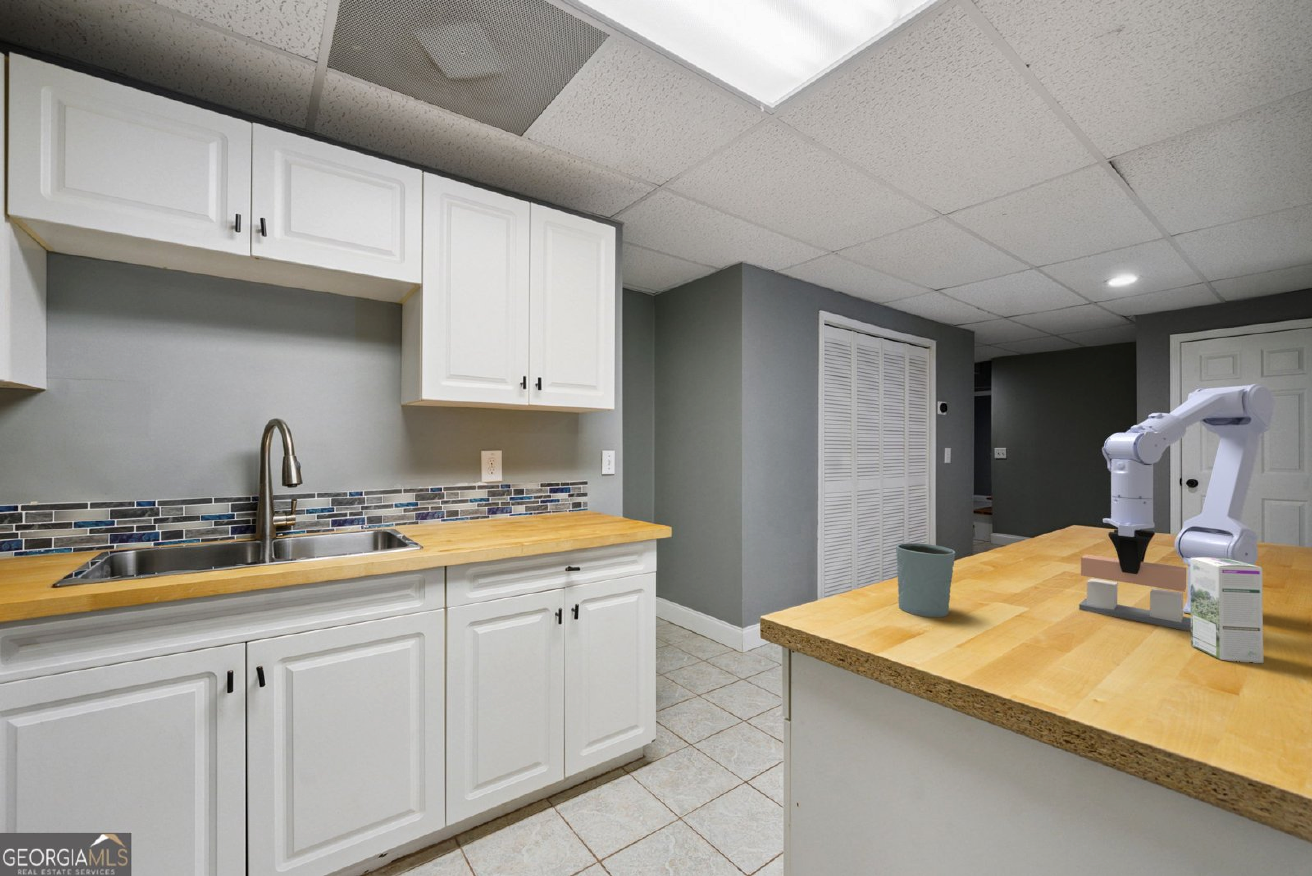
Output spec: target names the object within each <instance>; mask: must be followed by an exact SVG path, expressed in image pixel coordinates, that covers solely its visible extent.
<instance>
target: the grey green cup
mask: <svg viewBox="0 0 1312 876" xmlns="http://www.w3.org/2000/svg"><path fill="white" fill-rule="evenodd" d="M895 549H896V566H897V568H896V570H897V582H898V583H897V587H898V588H897V591H898V599H897V600H898V607H899V609H900V610H901V611H904V613H908V614H912V615H915V616H920V617H926V618H927V617H928V618H941V617H946V616H948V614H949V609H950V600H951V599H950V597H951V587H952V581H953V580H952V579H953V572H954V565H955V559H956V558H955V557H956V551H955V550H953V549H951V548H948V547H946V546H942V545H941V546H939V545H934V544H929V543H928V544H927V543H917V542H912V543H911V542H906V543H905V542H904V543H897V544H896V545H895Z"/></svg>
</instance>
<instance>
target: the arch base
mask: <svg viewBox="0 0 1312 876" xmlns="http://www.w3.org/2000/svg"><path fill="white" fill-rule="evenodd" d="M1118 582H1119V581H1113V580H1107V579H1100V578H1094V577H1090V579H1088V580H1087V582H1086V598H1085V599H1083V600H1082V601H1081V602H1080V604H1078V607H1079V608H1078V610H1080V611H1086V612H1089V611H1090V613H1095V614H1099V615H1100V614H1101V615H1106V616H1110V615H1112V616H1111V617H1115V618H1119V619H1126V620H1129V621H1130V620H1131V621H1135V620H1136V622H1140V621H1141V623H1145V622H1147V623H1146V624H1150V625H1156V626H1160V625H1162V626H1161V627H1165V626H1166V628H1171V629H1177V630H1181V631H1185V632H1189V631H1190V630H1191V617H1188V616H1184V612H1183V609H1184V592H1181V591H1175V590H1169V589H1163V588H1156V587H1152V588H1151V590H1150V591H1149V593H1150V594H1149V609H1145V608H1139V607H1133V606H1129V605H1123V604H1118V590H1119V589H1118Z"/></svg>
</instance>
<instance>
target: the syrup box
mask: <svg viewBox="0 0 1312 876" xmlns="http://www.w3.org/2000/svg"><path fill="white" fill-rule="evenodd" d="M1190 588H1191V589H1190V591H1191V613H1190V618H1191V626H1190V646H1191V647H1193V648H1195V649H1198V650H1199V651H1201V652H1204V653H1205V654H1208V655H1210V656H1212V657H1214V658H1215V659H1218V660H1220V661H1228V662H1229V661H1230V662H1236V661H1237V663H1249V662H1253V664H1263V663H1264V632H1263V631H1264V629H1263V628H1264V624H1263V622H1264V621H1263V618H1264V616H1263V615H1264V614H1263V613H1264V610H1263V603H1264V602H1263V599H1264V598H1263V596H1264V595H1263V590H1264V589H1263V567H1262V566H1258V565H1256V564H1255V565H1251V564H1247V563H1243V562H1239V561H1235V560H1231V559H1224V558H1213V557H1200V558H1191V559H1190ZM1239 661H1240V662H1239Z"/></svg>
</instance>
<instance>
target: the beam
mask: <svg viewBox="0 0 1312 876" xmlns="http://www.w3.org/2000/svg"><path fill="white" fill-rule="evenodd" d="M1080 576H1082V577H1090V578H1093V579H1099V580H1106V581H1112V582H1122V583H1127V584H1133V585H1139V586H1145V587H1151V588H1157V589H1163V590H1169V591H1176V592H1182V593H1184V592H1185V591H1186V589H1187V567H1186V566H1185V567H1183V566H1179V565H1170V564H1163V563H1161V564H1160V563H1153V562H1146V561H1144V562H1141V565H1140V569H1139V572H1138V574H1131V573H1124V572H1122V570H1121V567H1120V563H1119V559H1118V557H1111V556H1110V557H1109V556H1101V555H1093V554H1086V553H1085V554H1083V555H1082V556H1081V557H1080Z"/></svg>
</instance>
